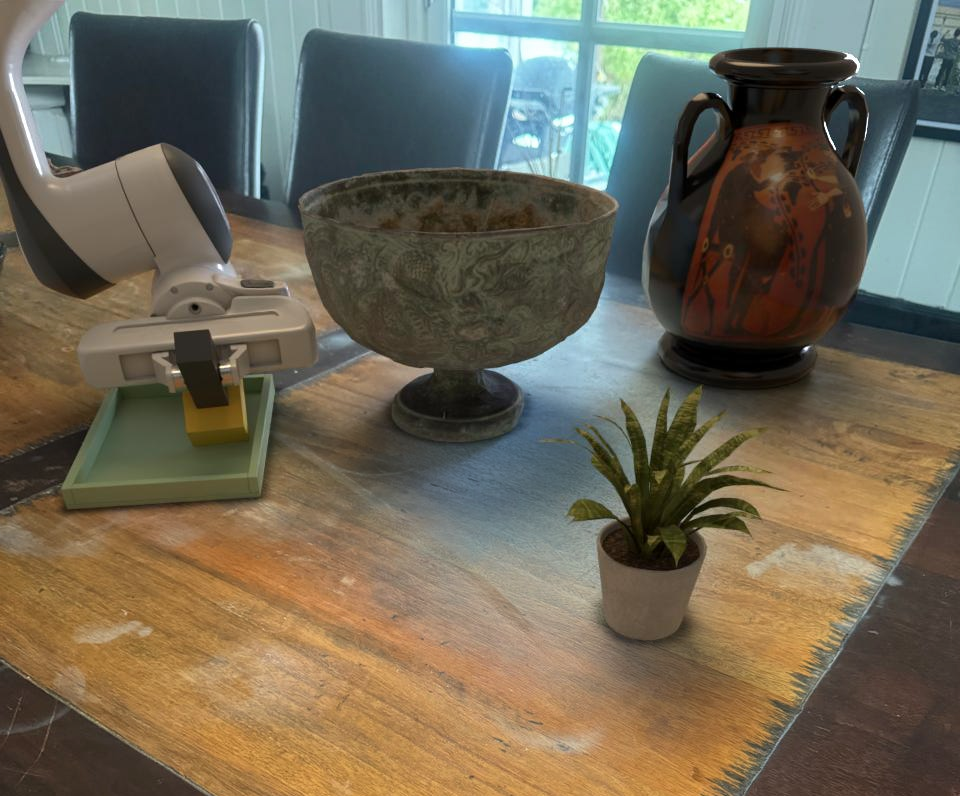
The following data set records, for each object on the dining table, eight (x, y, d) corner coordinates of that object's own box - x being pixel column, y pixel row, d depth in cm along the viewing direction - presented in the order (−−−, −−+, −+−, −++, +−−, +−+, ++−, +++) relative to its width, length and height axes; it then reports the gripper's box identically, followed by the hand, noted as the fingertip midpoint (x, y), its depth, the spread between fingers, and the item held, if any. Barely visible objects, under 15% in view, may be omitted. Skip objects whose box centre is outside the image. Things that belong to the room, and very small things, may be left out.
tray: (67, 511, 77) (60, 489, 76) (117, 402, 94) (111, 382, 93) (260, 499, 78) (256, 476, 77) (275, 393, 95) (272, 373, 94)
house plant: (587, 722, 57) (607, 480, 47) (493, 599, 67) (492, 378, 57) (781, 660, 61) (838, 427, 51) (665, 554, 71) (693, 341, 61)
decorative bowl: (264, 440, 86) (237, 204, 73) (388, 347, 105) (383, 147, 92) (539, 502, 78) (561, 252, 66) (619, 390, 97) (647, 180, 85)
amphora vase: (778, 319, 110) (830, 37, 93) (882, 392, 94) (969, 65, 77) (604, 337, 106) (625, 45, 89) (680, 416, 90) (724, 77, 73)
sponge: (193, 447, 85) (164, 389, 74) (186, 375, 86) (156, 309, 75) (249, 441, 85) (229, 383, 74) (241, 370, 87) (220, 303, 76)
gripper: (74, 300, 84) (60, 357, 74) (302, 279, 88) (320, 330, 78) (92, 368, 88) (82, 431, 78) (311, 345, 92) (329, 402, 82)
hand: (203, 380), depth 78 cm, fingers closed on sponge, 3 cm apart
